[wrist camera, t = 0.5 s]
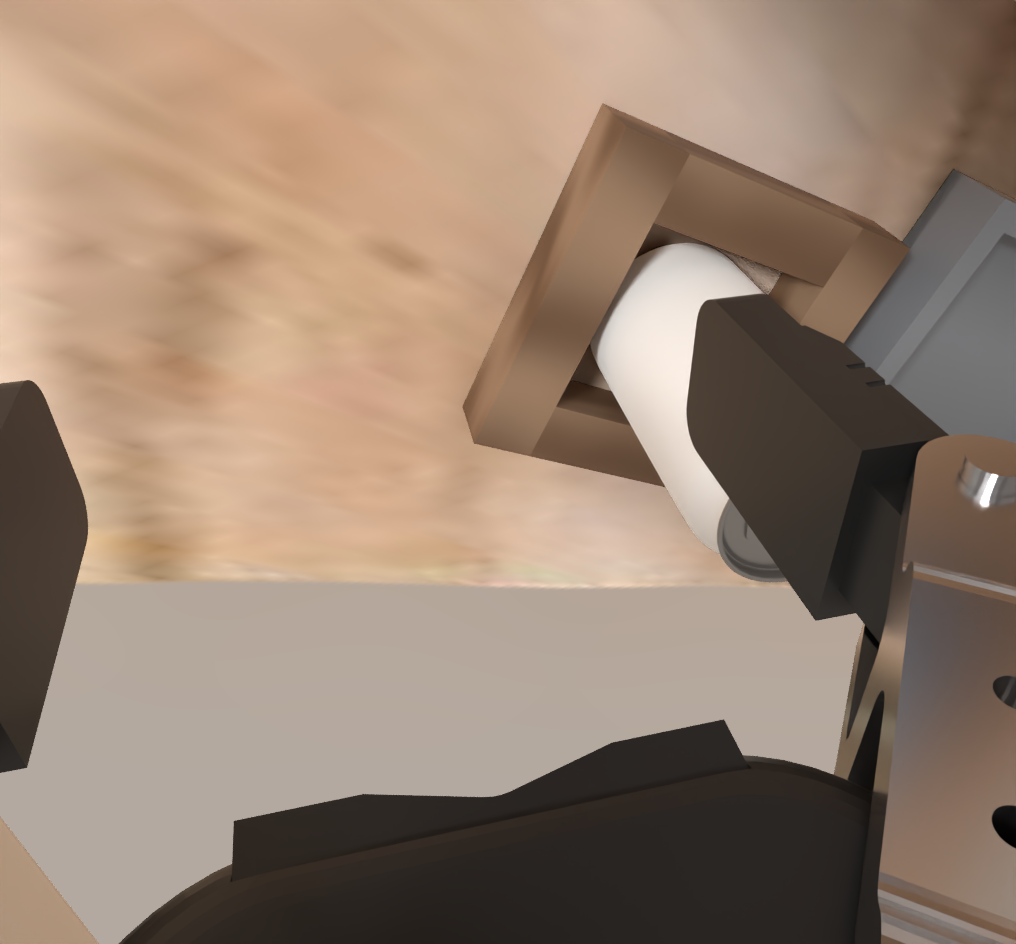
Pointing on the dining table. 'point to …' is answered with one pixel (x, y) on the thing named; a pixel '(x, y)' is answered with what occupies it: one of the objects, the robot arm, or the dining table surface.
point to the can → (676, 386)
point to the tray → (952, 313)
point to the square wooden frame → (607, 258)
